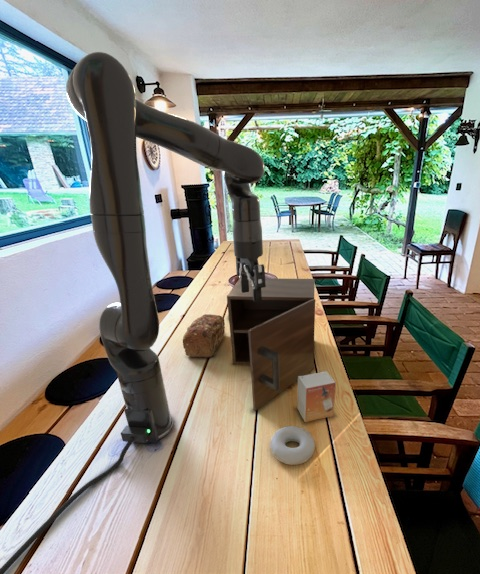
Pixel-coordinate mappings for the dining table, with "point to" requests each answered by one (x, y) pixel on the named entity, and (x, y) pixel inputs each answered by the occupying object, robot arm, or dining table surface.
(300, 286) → the cupboard
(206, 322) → the bread
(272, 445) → the donut
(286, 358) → the cupboard door
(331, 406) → the small box
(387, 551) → the dining table surface
